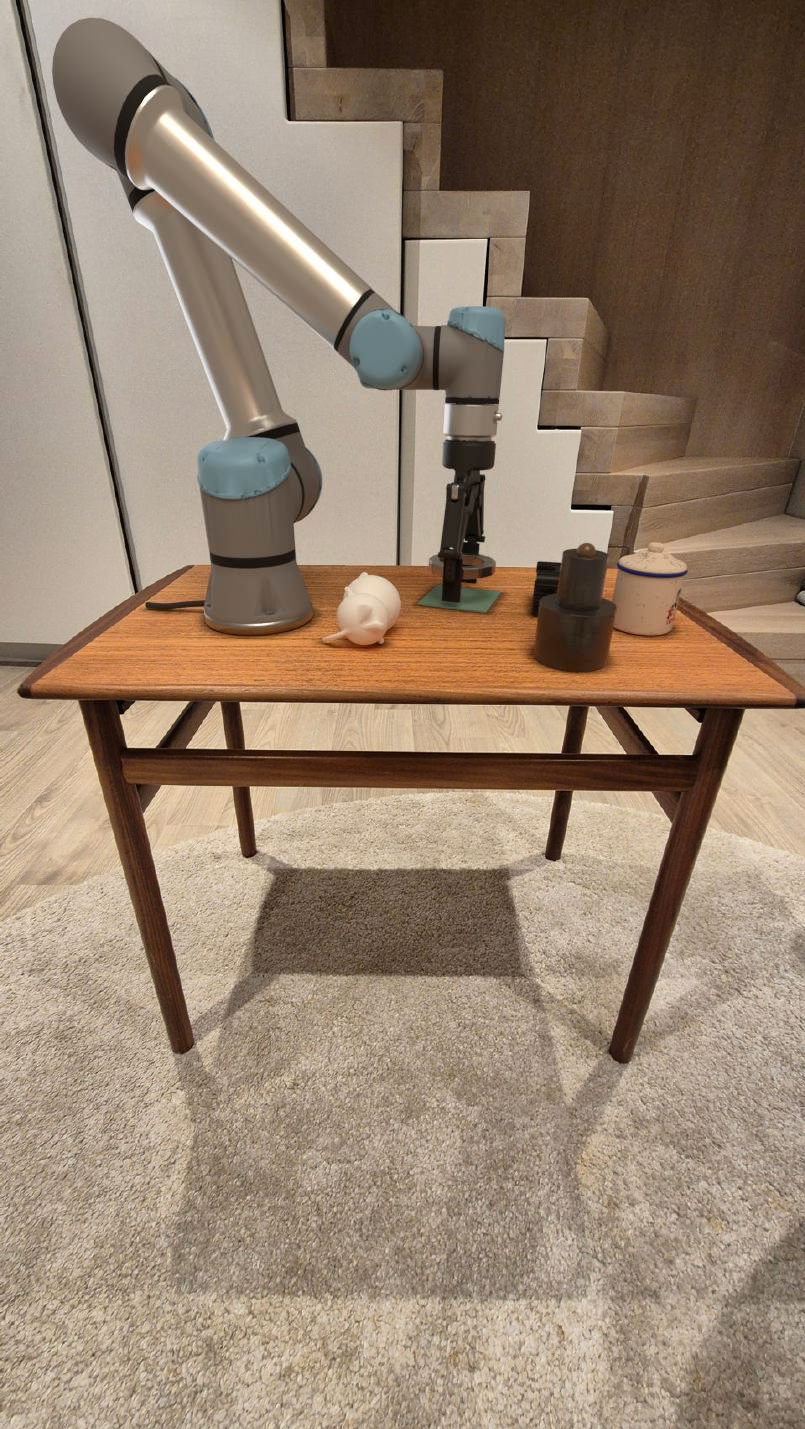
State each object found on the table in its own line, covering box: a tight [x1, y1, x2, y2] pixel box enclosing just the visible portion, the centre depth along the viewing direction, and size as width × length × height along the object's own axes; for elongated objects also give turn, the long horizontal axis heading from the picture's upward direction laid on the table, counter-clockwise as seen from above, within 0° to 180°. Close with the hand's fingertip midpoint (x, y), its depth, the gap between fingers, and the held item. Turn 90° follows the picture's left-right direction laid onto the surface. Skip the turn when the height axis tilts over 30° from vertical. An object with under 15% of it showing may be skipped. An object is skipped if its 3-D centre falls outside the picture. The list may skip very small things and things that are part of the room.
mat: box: [416, 584, 502, 614], centre depth 96 cm, size 11×11×1 cm
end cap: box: [531, 560, 561, 618], centre depth 91 cm, size 10×7×7 cm
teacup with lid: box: [611, 541, 689, 637], centre depth 84 cm, size 12×9×12 cm
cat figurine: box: [321, 571, 402, 646], centre depth 79 cm, size 9×11×12 cm
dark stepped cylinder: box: [532, 542, 617, 673], centre depth 72 cm, size 9×9×14 cm
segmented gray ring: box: [428, 552, 497, 580], centre depth 94 cm, size 10×10×2 cm
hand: (459, 591), depth 96 cm, fingers closed on segmented gray ring, 10 cm apart
